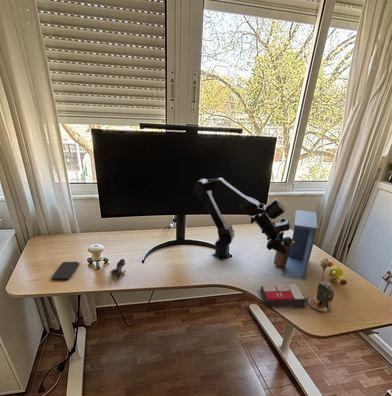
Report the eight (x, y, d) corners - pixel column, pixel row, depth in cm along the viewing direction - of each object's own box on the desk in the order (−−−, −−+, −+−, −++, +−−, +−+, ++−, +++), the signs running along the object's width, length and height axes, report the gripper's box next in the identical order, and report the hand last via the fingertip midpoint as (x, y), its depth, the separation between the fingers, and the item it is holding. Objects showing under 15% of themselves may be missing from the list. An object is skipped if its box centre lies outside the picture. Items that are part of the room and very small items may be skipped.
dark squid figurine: (131, 276, 126) (129, 263, 132) (120, 266, 121) (119, 253, 127) (117, 285, 127) (115, 272, 133) (106, 276, 122) (105, 262, 128)
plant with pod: (312, 315, 108) (327, 268, 97) (305, 298, 118) (317, 253, 107) (334, 317, 108) (351, 269, 97) (325, 299, 117) (340, 254, 107)
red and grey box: (260, 283, 119) (297, 282, 119) (259, 292, 121) (295, 291, 121) (266, 299, 110) (306, 298, 110) (265, 308, 112) (304, 307, 112)
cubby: (283, 275, 132) (294, 224, 119) (286, 256, 149) (296, 209, 136) (303, 279, 130) (317, 228, 117) (304, 259, 147) (316, 212, 134)
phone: (79, 261, 136) (68, 278, 123) (79, 263, 136) (69, 279, 123) (63, 261, 135) (50, 278, 123) (63, 263, 136) (51, 279, 123)
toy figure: (320, 270, 137) (324, 257, 134) (332, 271, 137) (336, 258, 134) (334, 292, 122) (339, 278, 118) (347, 292, 122) (352, 278, 118)
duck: (273, 264, 137) (278, 237, 130) (274, 259, 142) (279, 233, 135) (289, 267, 136) (295, 240, 128) (289, 261, 141) (296, 235, 133)
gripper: (279, 221, 120) (301, 250, 123) (282, 208, 135) (301, 234, 138) (257, 236, 126) (278, 263, 129) (262, 222, 141) (281, 246, 144)
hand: (285, 251), depth 135 cm, fingers closed on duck, 6 cm apart
